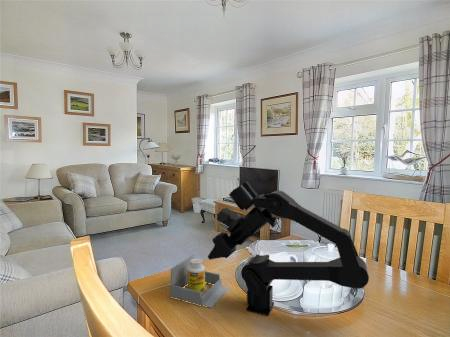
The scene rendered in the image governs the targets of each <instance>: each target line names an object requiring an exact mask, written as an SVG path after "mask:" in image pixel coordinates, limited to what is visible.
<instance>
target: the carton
mask: <svg viewBox="0 0 450 337" xmlns="http://www.w3.org/2000/svg"><path fill="white" fill-rule="evenodd" d="M192 259H195V258H194V254H192V255H190V256H189V257H187V258H185V259H184V260H183V261H180V262H179V263H178V264H176V265H175V266H173V267H171V268H170V285H169V298H170V297H173V298H177V299H180V300H184V301H188V302H191V303H195V304H198V305H201V306H203V305H204V306H207V307H210V308H209V309H211V308H212V307H213V306H214V305H215V304H216V303H217V304H218V303H219V301H220V300H221V299H222V298H223V297H222V296H223V295H224V296H225V295H226V293H227V292H228V291H229V290H230V289H229V288H230V286H225V285H222V282H223V281H222V280H223V279H222V278H221V274H220V273H216V272H212V271H211V272H210V271H207V270H205V282H207V283H211V284H214V285H211V287H210V288H209V289H208V290H207V291H206V292H204V293H203V295H202V294H201V292H200V291H196V290H191V289H188V287H185V288H183V287H184V286H185V285H187V284H188V267H189V266H190V260H192ZM228 289H229V290H228ZM227 290H228V291H227ZM226 291H227V292H226ZM221 297H222V298H221ZM217 304H216V305H217ZM216 305H215V306H216ZM201 306H200V307H201ZM215 306H214V307H215ZM207 307H206V308H207ZM214 307H213V308H214ZM213 308H212V309H213Z"/></svg>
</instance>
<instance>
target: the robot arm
mask: <svg viewBox="0 0 450 337" xmlns="http://www.w3.org/2000/svg"><path fill="white" fill-rule="evenodd" d="M228 197H230V198H231V199H232V201H233V202H234V203H235V205H236V206H237V208H238V209H239V210H240V211H245V212H247V211H248V212H247V213H246V214H245V215H243V216H240V215H239V214H237V213H236V212H235V211H232V210H231V209H230V208H228V207H223V208H222V209H220V211H219V213H217V214H216V220H217V222H219V223H221V224H223V225H224V226H226V227H227V228H226V230H227V232H228V233H229V234H228V233H227V232H223V231H222V232H220V233H218V234H217V235H216V236H214V237H213V238H212V243H213V244H214V246H213V248H212V249H211V251H210V252H209V253H208V255H207V258H208V260H211V261H212V260H216V259H221V258H225V259H227V258H229V257H231V255H232V254H233V253H235V252H236V251H237V246H238V245H239V246H242V245H243V244H244V243H245V242H247V241H248V240H250V239H251V238H252V237H253V236H254V235H255V234H256V233H257V232H258V231H260V230H261V229H262V228H263V227H265V226H266V225H267V224H269V226H271V228H275V227H276V226H277V224H278V218H282V219H286V220H290V221H293V222H296V223H297V224H299V225H301V226H303V227H304V228H306V229H307V230H310V231H312V232H313V233H315V234H317V235H319V236H320V237H322V238H324V239H326V240H327V241H329V242H331V243H333V244H335V247H336V248H337V251H338V255H339V257H337V258H334V259H331V260H329V261H274V260H272V259H270V254H264V255H259V254H256V255H255V256H252V257H250V259H249V260H248V261H247V262H246V263H245V264H244V265H243V267H242V268H241V272H240V273H241V274H240V275H241V278H242V279H243V281H244V282H245V285H246V288H247V290H246V305H247V306H246V311H248V312H251V313H255V314H259V315H262V316H263V315H264V316H267V317H268V316H270V313H271V311H272V310H273V308H274V306H273V305H275V303H274V302H273V296H274V295H273V289H274V288H273V287H274V286H273V285H271V284H272V283H273V281H275V280H277V281H278V280H282V281H284V280H285V281H321V282H322V281H323V282H324V281H325V282H331V283H334V284H336V285H338V286H341V287H344V288H345V287H346V288H349V289H350V288H351V289H355V290H357V289H364V288H365V286H367V284H368V283H369V280H370V277H369V272H368V271H369V270H368V266H367V263H366V261H364V259H363V258H361V256H359V253H358V251H357V249H356V246H355V244H354V241H353V239H352V234H351V232H350V231H349V230H348V229H346V228H343V227H340V226H339V225H337V224H334V222H331V221H330V220H327V219H325V218H324V217H322V216H320V215H317V214H316V213H314V212H313V211H311V210H308V209H306V208H305V207H303V206H302V205H300V204H299V203H298V202H297V201H296V200H295V199H294V198H293V197H291V196H290V195H289V194H287V193H286V192H284V191H282V190H274V191H273V192H271V193H269V194H267V193H266V194H263V193H262V194H258V193H257V191H255V189H254V188H253V187H252V185H251V183H250V182H249V181H244V182H243V183H242V184H240V185H239V186H237V187H236V188H234V189H233V190H231V192H229V193H228ZM231 199H230V200H231ZM253 206H254V207H253ZM252 207H253V208H252ZM251 208H252V209H251ZM250 209H251V210H250ZM249 210H250V211H249Z"/></svg>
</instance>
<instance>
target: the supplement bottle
mask: <svg viewBox="0 0 450 337" xmlns="http://www.w3.org/2000/svg"><path fill="white" fill-rule="evenodd" d="M203 262H204V261H203V259H202V258H198V257H197V258H196V257H195V258H194V259H192V260H190V266H189V267H188V286H187V289H191V290H196V291H200V292H201V295H202V293H203V294H205V290H206V284H205V271H206V267H205V265H204V264H203Z"/></svg>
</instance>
